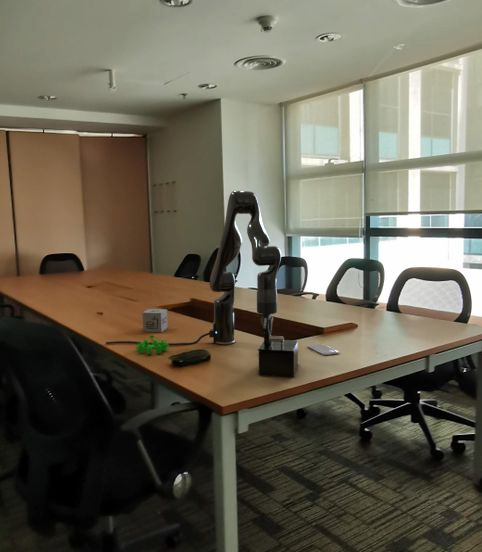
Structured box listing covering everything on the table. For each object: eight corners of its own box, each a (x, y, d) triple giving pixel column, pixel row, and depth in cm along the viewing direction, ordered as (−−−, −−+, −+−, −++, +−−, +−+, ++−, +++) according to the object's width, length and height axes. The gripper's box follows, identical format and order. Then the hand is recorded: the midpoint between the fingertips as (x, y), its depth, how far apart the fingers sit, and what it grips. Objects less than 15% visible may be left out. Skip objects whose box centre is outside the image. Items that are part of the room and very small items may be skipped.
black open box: (293, 377, 178) (293, 353, 177) (258, 375, 181) (258, 351, 180) (297, 364, 193) (297, 342, 192) (265, 362, 196) (265, 341, 195)
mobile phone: (322, 342, 221) (339, 351, 206) (322, 344, 221) (339, 353, 207) (306, 344, 219) (323, 353, 204) (306, 346, 219) (323, 355, 204)
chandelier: (145, 358, 207) (145, 341, 206) (129, 350, 219) (128, 335, 218) (175, 351, 216) (175, 336, 215) (158, 344, 228) (158, 330, 227)
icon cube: (161, 332, 253) (160, 313, 252) (143, 331, 255) (142, 312, 254) (167, 327, 263) (166, 309, 261) (149, 327, 265) (149, 309, 264)
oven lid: (293, 353, 176) (293, 338, 175) (258, 351, 179) (258, 336, 179) (297, 342, 192) (297, 329, 191) (265, 341, 195) (265, 327, 195)
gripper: (259, 297, 189) (260, 340, 191) (253, 303, 177) (254, 349, 179) (279, 297, 187) (279, 341, 189) (274, 303, 175) (274, 350, 177)
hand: (267, 345), depth 184 cm, fingers closed
